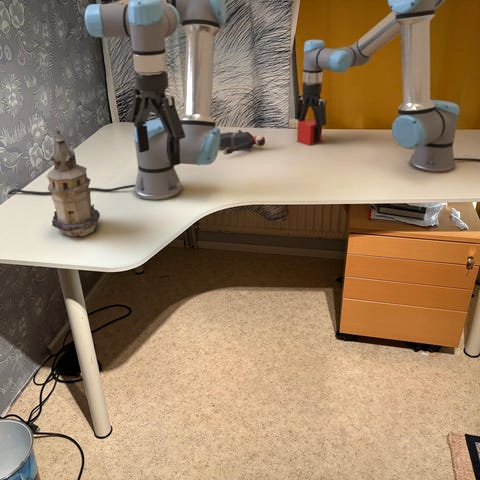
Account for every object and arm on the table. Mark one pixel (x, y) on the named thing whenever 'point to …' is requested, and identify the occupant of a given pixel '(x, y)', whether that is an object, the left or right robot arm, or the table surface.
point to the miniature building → (70, 193)
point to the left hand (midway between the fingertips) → (159, 158)
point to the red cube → (307, 132)
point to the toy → (239, 141)
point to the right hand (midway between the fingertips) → (309, 139)
